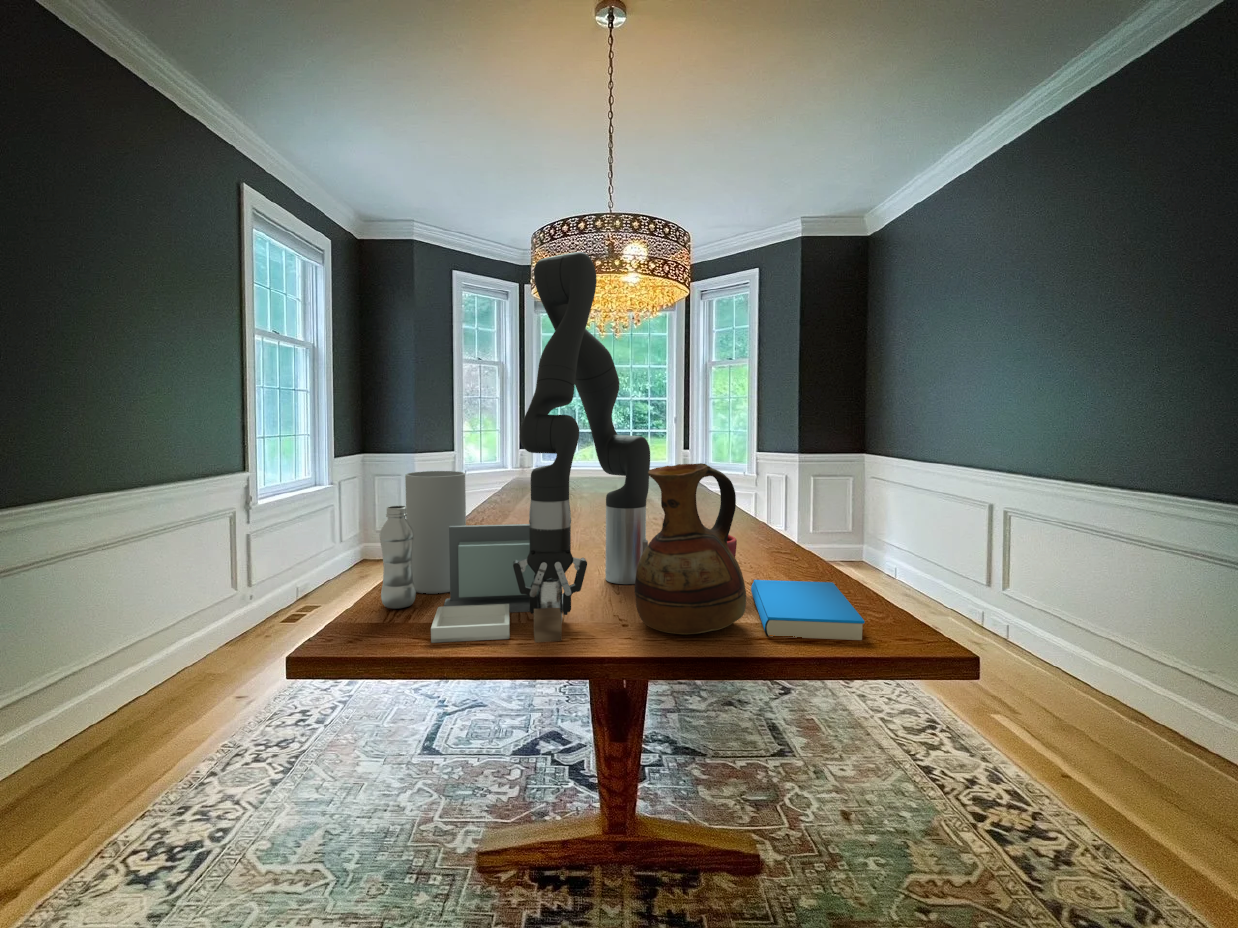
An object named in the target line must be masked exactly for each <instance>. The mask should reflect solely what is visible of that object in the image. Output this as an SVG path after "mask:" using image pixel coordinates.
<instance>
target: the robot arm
mask: <svg viewBox="0 0 1238 928" xmlns="http://www.w3.org/2000/svg"><path fill="white" fill-rule="evenodd" d="M533 277H534V284H535V288H536V291H537V295H538V297H539V299H540V302H541V304H542V306H543V308H544V310H545V313H546V314H547V316H548V317H547V318H549V321H550V323H551V325H552V327H553V329H554V332H553V333H552V335H551V336H550V338H549V340H548V342H547V343H546V344H545V346H544V349H543V350H542V352H541V355H540V358H539V363H538V368H537V377H536V383H535V384H536V385H535V390H534V394H533V396H532V398H531V402H530V404H529V407H528V409H527V411H526V412H525V415H524V417H523V420H522V423H521V425H520V429H519V430H520V431H519V439H520V442H521V445H522V447H523V449H525V451H527V452H528V453H531V454H552V455H553V454H556V457H555V459H554V461H553V462H552V463H551V464H549V465H543V466H537V467H535V468H533V469H532V471H531V473H530V505H529V513H528V514H529V515H528V516H529V517H528V524H529V528H530V529H529V542H530V551H529V555H528V557H527V559H523V560H520V561H518V560H515V561H514V562H513V568H514V572H515V576H516V579H517V583H518V587H519V591H520V593H521V594H526V595H528V596H529V597H530V614H533V615H534V609H538V597H537V591H538V588H539V586H540V584H541V581H542V580H547V579H550V578H551V579H560V582H561V584H562V591H563V592H562V594H563V610H562V616H568V613H571V610H572V595H574V593H578V592H581V590H582V587H583V583H584V580H585V575H586V572H587V567H588V561H587V559H586V558H584V557H581V558H578V557H574V556H573V554H572V550H571V549H572V548H571V545H572V544H571V543H572V542H571V541H572V539H571V537H572V536H571V535H572V534H571V524H572V518H571V514H572V513H571V511H572V510H571V504H570V477H571V470H572V465H573V460H574V456H575V453H576V450H577V446H578V443H579V438H580V427H579V424H578V422H577V420H576V419H575V418H574V417H573V416H572V415H569V414H550V413H551V411H552V410H554V409H557V408H560V407H561V408H562V407H565V406H568V405H570V404H571V403H572V401H573V400H574V394H575V388H576V391H577V394H578V395H579V399H580V401H581V404H582V406H583V409H584V412H585V415H586V419H587V421H588V424H589V428H590V432H591V436H592V441H593V445H594V449H595V453H596V456H597V457H596V458H597V460H598V463H599V465H600V468H602V470H603V471H604V472H605V473H606V474H608V475H611V476H623V477H625V481H624V483H623V485H622V486H621V487H620V488H618V489H616V490H612V491H609V492H607V494H606V496H605V571H604V572H605V573H604V574H605V580H606V581H607V582H609V583H613V584H617V585H635V579H636V571H637V567H638V563H639V561H640V558H641V555H642V554H643V552H644V550H645V549H646V547H647V546H648V544H649V541H648V539H647V499H648V493H649V487H650V476H649V474H648V471H649V470H650V469H651V447H650V444H649V442H648V440H647V439H646V437H644V436H640V435H629V434H628V435H623V434H618V433H617V431H616V429H615V426H614V423H613V410H614V407H615V404H616V401H617V400H618V399H617V398H618V395H619V391H620V380H619V376H618V372H617V369H616V366H615V363H614V359H613V357H612V355H611V352H610V351H609V350H608V348H606V346H605V345H604V344H603V343H602V342H601V341H600V340H599V339H598V338H597V337H595V336H594V335H593V334H592V333H591V332H590V331H589V330H588V329H587V324H588V321H589V317H590V314H591V310H592V306H593V303H594V300H595V299H594V298H595V295H596V289H597V271H596V267H595V264H594V262H593V260H592V259H591V257H590V256H589V255H588V254H587V253H586V252H582V251H576V252H569V253H563V254H559V255H553V256H549V257H545V258H541V259H539V260H538V261H537V262H536V263H535V265H534V270H533ZM572 564H573V565H574V566H573V567H574V569H575V571H576V572H575V573H576V574H575V576H574V581H573V584H569V581H568V578H567V577H566V573H567V571H568V569H570V567H571V566H572ZM526 565H529V566H530V568H531V569H532V570H533V571H534V573H535V574H534V577H533V581H532V583H531V586H530V587H529V586H526V585H525V581H524V577H523V574H522V572H524V571H525V567H526Z"/></svg>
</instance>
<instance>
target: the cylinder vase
mask: <svg viewBox="0 0 1238 928" xmlns="http://www.w3.org/2000/svg"><path fill="white" fill-rule="evenodd" d="M404 478H405V483H404V484H405V485H404V486H405V506H406V513H407V516H405V519H406V520H407V521H408V523H409V524H410V525H411V527H412V528H413V532H414V538H413V548H412V559H411V561H412V573H413V582H414V585H415V590H416V594H417V593H419V594H423V593H426V595H434V594H435V595H436V594H437V595H438V593H439V594H445V593H446V594H448V593H450V553H449V526H463V525H467V513H466V512H467V510H466V509H467V506H466V500H467V499H466V472H464V471H455V470H427V471H424V470H423V471H414V472H408V473H405V476H404Z"/></svg>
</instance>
